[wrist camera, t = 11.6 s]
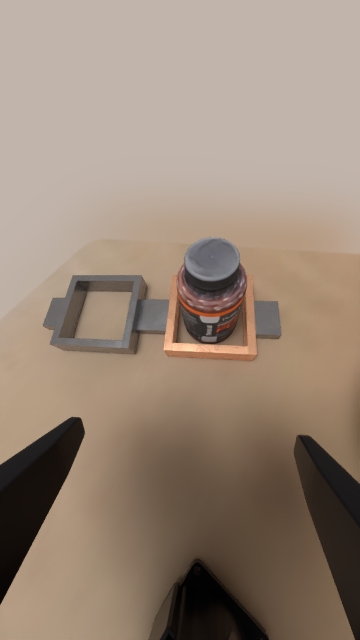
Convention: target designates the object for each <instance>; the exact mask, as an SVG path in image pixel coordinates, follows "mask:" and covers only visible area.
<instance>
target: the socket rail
mask: <svg viewBox="0 0 360 640" xmlns="http://www.w3.org/2000/svg"><path fill="white" fill-rule="evenodd" d="M246 276H247V289H246V292H245V296H244V299H243V302H242V305H243V336H244V346H229V345H207V344H186V343H176V339H177V329H178V319H179V308H180V302H179V297H178V293H177V286H176V280H177V275H173V276H172V284H171V293H170V300H156V299H145V296H146V290H147V285H146V283H145V281H144V279H143V277H142V275H73V276H72V279H71V282H70V285H69V288H68V291H67V294H66V297H65V298H53V299H52V301H51V304H50V307H49V310H48V312H47V315H46V318H45V321H44V323H43V327H45V328H47V329H49V330H54V333H53V336H52V339H51V341H50V344H51V345H53V346H55V347H57V348H60V349H62V350H69V351H87V352H105V353H123V354H136V348H137V342H138V336H139V333H148V334H166V335H165V343H164V351H165V353H166V354H167V355H168V356H177V357H195V358H213V359H231V360H249V361H252V360H253V359H254V358H255V356H256V355H257V350H256V338H271V339H278V338H279V337H280V336H281V326H280V317H279V308H278V302H276V301H254V297H253V279H252V275H246ZM87 291H127V292H132V295H131V300H130V305H129V310H128V315H127V320H126V325H125V330H124V335H123V340H122V341H121V340H99V339H78V338H73V337H74V333H75V330H76V326H77V323H78V320H79V316H80V313H81V310H82V306H83V303H84V300H85V296H86V293H87Z"/></svg>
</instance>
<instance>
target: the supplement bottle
mask: <svg viewBox="0 0 360 640" xmlns="http://www.w3.org/2000/svg"><path fill="white" fill-rule="evenodd" d="M176 286H177V293H178V297H179V302H180V306H181V310H182V315H183V319H184V323H185V326H186V329H187V331H188V332H189V334H190V335H191V336H192V337H193V338H194V339H196V340H198V341H200V342H203V343H218V342H220V341H223V340H224V339H226V338H227V337H228V336H229V335H230V334H231V333H232V331H233V330H234V328H235V325H236V322H237V318H238V315H239V312H240V309H241V306H242V302H243V299H244V296H245V292H246V289H247V276H246V272H245V270H244V268H243V266H242V265H241V264H240V255H239V251H238V249H237V248H236V247H235V245H233V244H232V243H231V242H229V241H227V240H225V239H222V238H217V237H209V238H204V239H201V240H199V241H197V242H195V243H193V244H192V245H191V246H190V247H189V248H188V250H187V252H186V254H185V257H184V264H183V265H182V266H181V268H180V270H179V272H178V275H177V280H176Z"/></svg>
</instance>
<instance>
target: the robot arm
mask: <svg viewBox="0 0 360 640" xmlns="http://www.w3.org/2000/svg"><path fill="white" fill-rule="evenodd" d="M84 434H85V430H84V426H83V423H82V419H81V418H79V417H71V418H69V419H67V420H66V421H64V422H63V423H61V424H60V425H59V426H57V427H56V428H54V429H53V430H51V431H50V432H48V433H47V434H45V435H44V436H42V437H41V438H39V439H38V440H36V441H35V442H33V443H32V444H30V445H29V446H27V447H26V448H25V449H23V450H22V451H20V452H19V453H17V454H16V455H14V456H13V457H11V458H10V459H8V460H7V461H5V462H4V463H2V464H1V465H0V605H1V603H2V601H3V599H4V597H5V595H6V593H7V591H8V589H9V587H10V585H11V583H12V582H13V580H14V578H15V576H16V574H17V572H18V570H19V568H20V566H21V564H22V562H23V560H24V558H25V557H26V555H27V553H28V551H29V549H30V547H31V545H32V543H33V541H34V539H35V537H36V535H37V534H38V532H39V530H40V528H41V526H42V524H43V522H44V520H45V518H46V516H47V514H48V512H49V510H50V509H51V507H52V505H53V503H54V501H55V499H56V497H57V495H58V493H59V491H60V489H61V487H62V485H63V484H64V482H65V480H66V478H67V476H68V474H69V471H70V469H71V467H72V464H73V462H74V460H75V457H76V455H77V452H78V450H79V447H80V445H81V443H82V440H83V438H84ZM294 456H295V460H296V464H297V468H298V472H299V476H300V480H301V484H302V488H303V491H304V495H305V499H306V503H307V506H308V509H309V511H310V514H311V517H312V520H313V523H314V526H315V528H316V531H317V534H318V537H319V540H320V542H321V545H322V548H323V551H324V554H325V556H326V559H327V562H328V565H329V568H330V570H331V573H332V576H333V579H334V582H335V584H336V587H337V590H338V593H339V596H340V598H341V601H342V604H343V607H344V610H345V612H346V615H347V618H348V621H349V624H350V626H351V629H352V632H353V635H354V638H355V640H360V484H359V483H358V482H357V481H356V480H355V479H354V478H353V477H352V476H351V475H350V474H349V473H348V472H347V471H346V470H345V469H344V468H343V467H342V466H341V465H340V464H338V463H337V462H336V461H335V460H334V459H333V458H332V457H331V456H330V455H329V454H328V453H327V452H326V451H325V450H324V449H323V448H322V447H321V446H320V445H319V444H318V443H317V442H316V441H315V440H314V439H313V438H312V437H310V436H308V435H297V437H296V442H295V447H294ZM195 567H199V568H200V572H196V571H195ZM262 638H263V639H264V640H269V637H268V635H267V633H266V631H265V630H264V629H263V628H262V627H261V626H260V624H259V623H258V622H257V621H256V620H255V619H254V618H253V617H252V616H251V615H250V614H249V613H248V611H247V610H246V609H245V608H244V607H243V606H242V605H241V604H240V603H239V602H238V601H237V599H236V598H235V597H234V596H233V595H232V594H231V593H230V592H229V591H228V590H227V589H226V588H225V586H224V585H223V584H222V583H221V582H220V581H219V580H218V579H217V578H216V577H215V576H214V574H213V573H212V572H211V571H210V570H209V569H208V568H207V567H206V566H205V565H204V564H203V563H202V561H200V560H198V559H196V560H194V561H193V562H192V564H191V566H190V568H189V569H188V571H187V573H186V575H185V576H184V578H183V580H182V582H181V584H179V583H175V584H174V585H173V587H172V589H171V591H170V592H169V594H168V596H167V598H166V599H165V601H164V603H163V605H162V606H161V608H160V610H159V612H158V614H157V615H156V617H155V620H154V624H153V627H152V631H151V635H150V638H149V640H260V639H262Z"/></svg>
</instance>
